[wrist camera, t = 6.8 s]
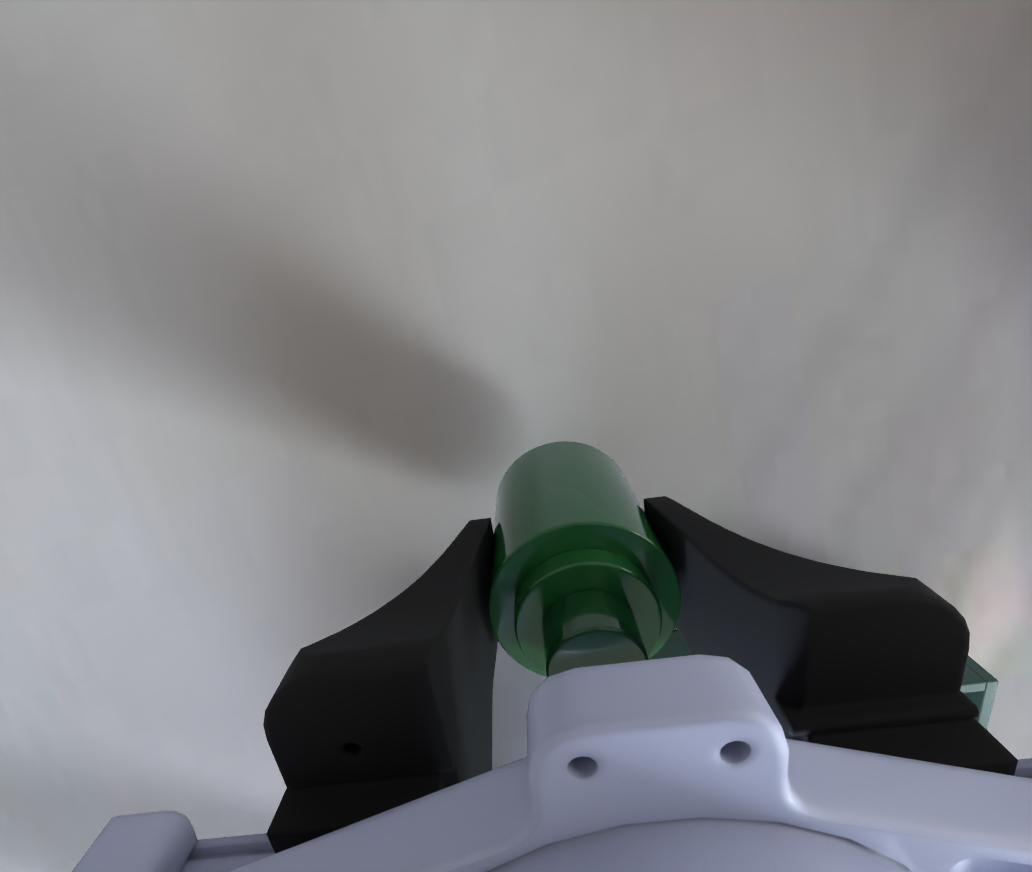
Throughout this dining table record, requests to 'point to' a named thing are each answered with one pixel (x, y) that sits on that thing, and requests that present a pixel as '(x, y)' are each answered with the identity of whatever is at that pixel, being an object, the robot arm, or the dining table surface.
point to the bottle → (577, 565)
